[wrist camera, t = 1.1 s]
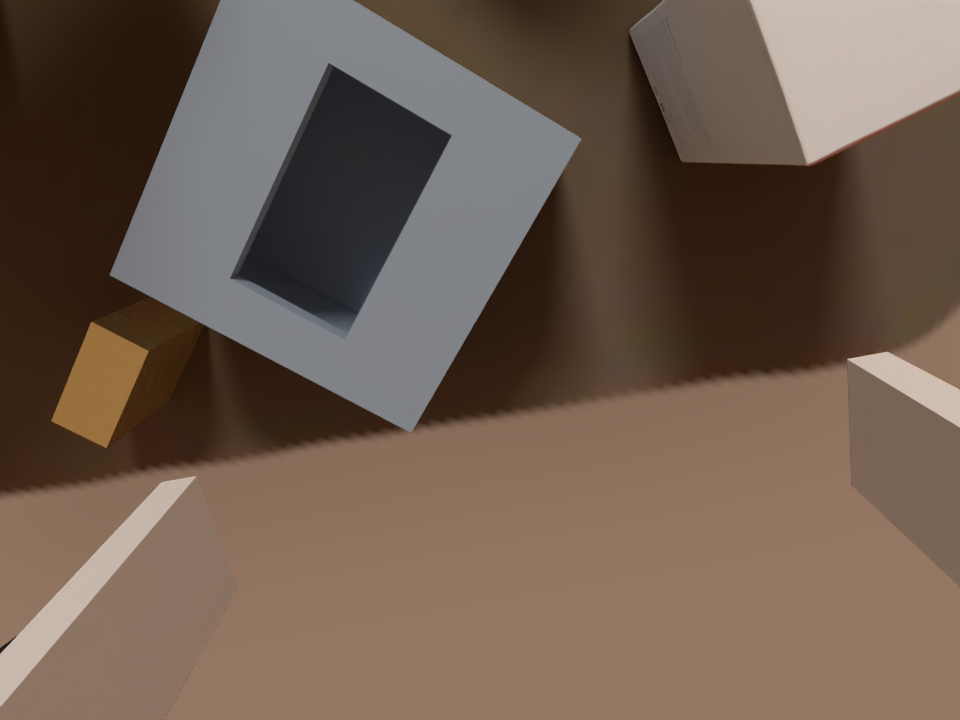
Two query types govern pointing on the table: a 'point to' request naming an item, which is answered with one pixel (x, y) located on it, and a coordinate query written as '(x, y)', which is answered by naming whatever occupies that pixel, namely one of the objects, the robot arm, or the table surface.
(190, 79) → the coin box
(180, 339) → the tan wooden block
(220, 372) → the table surface
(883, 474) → the robot arm
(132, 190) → the table surface
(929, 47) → the small box
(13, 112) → the table surface
